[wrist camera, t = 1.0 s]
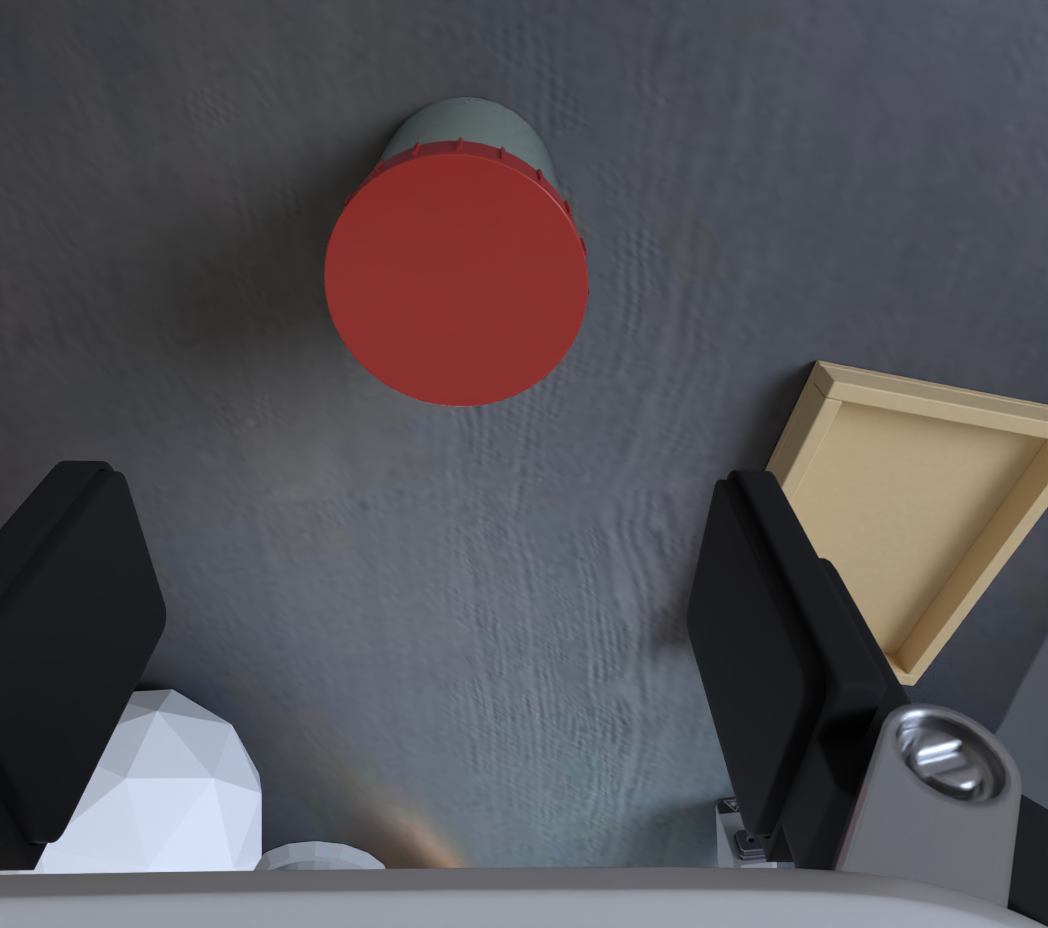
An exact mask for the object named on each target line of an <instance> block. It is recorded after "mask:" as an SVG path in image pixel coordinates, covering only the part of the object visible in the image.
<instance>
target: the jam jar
mask: <svg viewBox="0 0 1048 928" xmlns="http://www.w3.org/2000/svg"><path fill="white" fill-rule="evenodd" d="M459 137H461V138H463V141H469V142H476V143H482V144H486V145H489V146H492V147H496V148H499V149H501V147H505V151H506V152H508V153H510V154H512V155H515V156H516V157H518V158H520V159H521V160H523V161H524V162H526V163H528V164H529V165H531V166H532V167H533V168H534V169H535V170H538V169H540V170H542V173H543V176H544V177H545V178H546V179H547V180H548V182H549V183H550V184H551V185H552V186H553V187H554V188H555V189H556V191H557V192H558V194H559V195H560V196H561V198H562V194H561V191H560V187H559V184H558V180H557V177H556V173H555V169H554V166H553V163H552V160H551V158H550V155H549V153H548V151H547V149H546V147H545V145H544V143H543V142H542V140H541V139H540V137H539V136H538V134H537V133H536V132H535V131H534V130H533V128H532V127H531V126H530V125H529V124H528V123H527V122H526V121H525V120H523V119H522V118H521V117H520V116H519V115H517V114H516V113H514V112H513V111H511V110H509V109H508V108H506V107H504V106H501V105H499V104H497V103H494V102H491V101H488V100H484V99H478V98H470V97H458V98H451V99H445V100H442V101H438V102H435V103H433V104H430V105H428V106H426V107H424V108H422V109H421V110H419V111H417V112H416V113H414V114H413V115H412V116H411V117H409V118H408V119H407V120H406V121H405V122H404V123H403V124H402V125H401V126H400V127H399V128H398V130H397V131H396V132H395V134H394V135H393V137H392V138H391V140H390V141H389V143H388V145H387V147H386V148H385V150H384V152H383V154H382V155H381V157H380V159H379V161H380V160H381V161H382V162H385V161H386V160H388V159H390V158H391V157H393V156H394V155H396V154H398V153H400V152H403V151H405V150H407V149H410V148H412V147H414V146H415V143H417V142H420V145H423V144H426V143H431V142H439V141H446V140H447V141H458V138H459ZM379 161H378V162H379ZM378 162H377V163H378ZM376 165H377V164H376ZM373 170H374V169H373ZM562 199H563V198H562Z"/></svg>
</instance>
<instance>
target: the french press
mask: <svg viewBox="0 0 1048 928" xmlns="http://www.w3.org/2000/svg"><path fill="white" fill-rule="evenodd" d="M345 869H386V868H385V866H384V865H383V864H382V863H381V862H379V861H378V860H377V859H375V858H374V857H373V856H372V855H370V854H369V853H367V852H364V851H361V850H359V849H356V848H353V847H350V846H347V845H345V844H337V843H329V842H320V841H311V842H301V843H291V844H286V845H283V846H281V847H278V848H275V849H273V850H270V851H268V852H266V853H265V854H263V855H262V856H261V859H260V860H259V862H258V864H257V865H256V867H255V869H254V870H253V871H263V870H345Z"/></svg>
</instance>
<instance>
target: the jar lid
mask: <svg viewBox="0 0 1048 928" xmlns="http://www.w3.org/2000/svg"><path fill="white" fill-rule="evenodd" d="M343 205H345V207H344V209H343V211H342V212H341V214H340V216H339V218H338V220H337V222H336V224H335V226H334V228H333V230H332V232H331V233H330V235H329V237H328V239H327V243H328V246H327V250H326V257H325V264H324V286H325V294H326V300H327V304H328V308H329V311H330V315H331V318H332V320H333V322H334V325H335V327H336V329H337V332H338V333H339V335H340V337H341V338H342V340H343V342H344V344H345V345H346V347H347V348H348V349H349V351H350V352H351V353H352V355H353V356H354V357H355V358H356V360H357V361H358V362H359V363H360V364H361V365H362V366H363V367H364V368H365V369H366V370H367V371H368V372H370V373H371V374H372V375H373V376H375V377H376V378H377V379H378V380H380V381H381V382H383V383H384V384H386V385H387V386H389V387H391V388H392V389H394V390H396V391H398V392H400V393H402V394H404V395H406V396H409V397H412V398H415V399H417V400H420V401H424V402H428V403H432V404H437V405H445V406H477V405H485V404H489V403H493V402H498V401H501V400H504V399H507V398H509V397H512V396H515V395H517V394H519V393H521V392H522V391H524V390H526V389H528V388H530V387H531V386H533V385H534V384H536V383H537V382H539V381H540V380H541V379H543V378H544V377H545V376H546V375H547V374H548V373H549V372H551V371H552V370H553V369H554V368H555V367H556V365H557V364H558V363H559V362H560V361H561V360H562V359H563V357H564V356H565V354H566V353H567V351H568V350H569V349H570V347H571V346H572V344H573V342H574V340H575V338H576V336H577V334H578V332H579V329H580V326H581V323H582V321H583V318H584V314H585V309H586V304H587V295H588V294H589V288H588V274H587V265H586V260H585V255H587V251H586V248H585V244H584V241H583V238H579V234H578V231H577V228H576V226H575V223H574V220H573V217H572V213H571V209H570V206H569V203H568V201H567V200H566V201H565V202H564V201H563V199H562V198H561V196H560V195H559V194H558V192H557V191H556V189H555V188H554V187H553V186H552V185H551V184H550V183H549V182H548V180H547V179H546V178H545V177H544V176H543V173H542V170H540V169H538V170H535V169H534V168H533V167H532V166H531V165H529V164H528V163H526V162H524V161H523V160H521V159H520V158H518V157H516V156H515V155H512V154H510V153H508V152H506V151H505V147H501V149H499V148H496V147H492V146H489V145H486V144H482V143H476V142H469V141H463V138H461V137H459V138H458V141H447V140H446V141H439V142H431V143H426V144H423V145H420V142H417V143H415V146H414V147H412V148H410V149H407V150H405V151H403V152H400V153H398V154H396V155H394V156H393V157H391V158H390V159H388V160H386V161H385V162H382V161H381V160H380V161H379V162H378V163H377V165H376V166H375V168H374V170H373V171H372V172H371V173H370V174H369V175H368V176H367V177H366V178H365V179H364V180H363V181H362V182H361V184H360V185H359V186H358V187H357V189H356V190H355V192H354V191H353V190H351V191H350V193H349V194H348V196H347V198H346V199H345V201H344V203H343Z"/></svg>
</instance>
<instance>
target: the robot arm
mask: <svg viewBox="0 0 1048 928" xmlns="http://www.w3.org/2000/svg"><path fill="white" fill-rule="evenodd" d="M165 622H166V607H165V603H164V600H163V597H162V594H161V590H160V587H159V584H158V581H157V578H156V574H155V571H154V568H153V565H152V561H151V558H150V555H149V552H148V549H147V545H146V542H145V539H144V536H143V532H142V529H141V526H140V523H139V520H138V516H137V513H136V510H135V507H134V503H133V500H132V497H131V494H130V491H129V487H128V484H127V481H126V479H125V476H124V475H123V474H122V473H121V472H118V471H113V469H112V467H111V466H110V465H109V464H108V463H107V462H104V461H62V462H59V463H58V464H57V465H56V466H55V467H54V468H53V469H52V470H51V471H50V472H49V473H48V475H47V476H46V477H45V478H44V479H43V480H42V482H41V483H40V484H39V485H38V486H37V487H36V489H35V490H34V491H33V492H32V493H31V494H30V495H29V497H28V498H27V499H26V500H25V501H24V502H23V504H22V505H21V506H20V507H19V508H18V509H17V511H16V512H15V513H14V514H13V515H12V516H11V517H10V519H9V520H8V521H7V522H6V523H5V524H4V526H3V527H2V528H1V529H0V871H22V870H34V869H35V867H36V865H37V863H38V861H39V859H40V857H41V856H42V854H43V852H44V850H45V848H46V846H47V844H48V843H54V842H56V841H57V840H58V839H59V838H60V837H61V836H62V835H63V833H64V831H65V830H66V828H67V826H68V824H69V822H70V820H71V818H72V815H73V813H74V811H75V809H76V807H77V805H78V803H79V801H80V799H81V797H82V795H83V793H84V791H85V789H86V787H87V785H88V783H89V781H90V779H91V777H92V775H93V773H94V771H95V769H96V767H97V765H98V763H99V761H100V759H101V757H102V754H103V752H104V750H105V748H106V746H107V744H108V742H109V740H110V738H111V736H112V734H113V732H114V730H115V728H116V726H117V724H118V722H119V720H120V718H121V716H122V714H123V712H124V710H125V708H126V706H127V704H128V702H129V700H130V698H131V695H132V693H133V691H134V689H135V687H136V685H137V683H138V681H139V679H140V677H141V675H142V673H143V671H144V669H145V667H146V665H147V663H148V661H149V659H150V657H151V655H152V653H153V651H154V649H155V647H156V645H157V643H158V641H159V639H160V637H161V634H162V632H163V630H164V627H165ZM687 627H688V633H689V637H690V640H691V644H692V647H693V651H694V654H695V658H696V661H697V665H698V668H699V672H700V675H701V679H702V682H703V686H704V689H705V693H706V696H707V700H708V703H709V707H710V710H711V714H712V717H713V721H714V724H715V728H716V731H717V735H718V738H719V742H720V745H721V749H722V752H723V756H724V759H725V763H726V766H727V770H728V773H729V777H730V780H731V784H732V787H733V791H734V794H735V798H736V801H737V805H738V808H739V812H740V815H741V819H742V822H743V825H744V828H745V830H746V832H747V834H748V835H749V836H759V839H760V842H761V845H762V849H763V852H764V855H765V859H766V862H794V864H795V867H796V868H716V867H583V868H440V869H345V870H263V871H192V872H131V873H70V874H12V875H0V928H1048V810H1047V809H1046V808H1044V807H1042V806H1041V805H1039V804H1037V803H1036V802H1034V801H1032V800H1031V799H1029V798H1027V797H1025V796H1024V795H1022V794H1021V792H1022V787H1021V778H1020V771H1019V769H1018V767H1017V765H1016V763H1015V761H1014V759H1013V757H1012V755H1011V754H1010V752H1009V751H1008V750H1007V749H1006V748H1005V746H1004V745H1003V744H1002V743H1001V742H1000V740H999V739H998V738H997V737H996V736H995V735H993V734H992V733H991V732H990V731H988V730H987V729H986V728H985V727H983V726H982V725H981V724H980V723H978V722H976V721H975V720H973V719H971V718H969V717H967V716H966V715H964V714H962V713H960V712H958V711H955V710H952V709H949V708H946V707H943V706H940V705H934V704H926V703H914V704H911V702H910V700H909V699H908V697H907V695H906V693H905V691H904V690H903V688H902V686H901V684H900V682H899V681H898V679H897V677H896V675H895V673H894V672H893V670H892V668H891V666H890V664H889V663H888V661H887V659H886V657H885V655H884V654H883V652H882V650H881V648H880V647H879V645H878V643H877V641H876V639H875V638H874V636H873V634H872V632H871V630H870V629H869V627H868V625H867V623H866V621H865V620H864V618H863V616H862V614H861V612H860V611H859V609H858V607H857V605H856V603H855V602H854V600H853V598H852V596H851V595H850V593H849V591H848V589H847V587H846V586H845V584H844V582H843V580H842V578H841V577H840V575H839V573H838V571H837V569H836V568H835V567H834V565H833V564H832V563H831V561H829V560H827V559H825V558H819V557H818V555H817V553H816V551H815V549H814V548H813V546H812V544H811V542H810V540H809V538H808V537H807V535H806V533H805V531H804V529H803V527H802V525H801V524H800V522H799V520H798V518H797V516H796V514H795V512H794V511H793V509H792V507H791V505H790V503H789V501H788V499H787V498H786V496H785V494H784V492H783V490H782V488H781V486H780V485H779V483H778V481H777V479H776V477H775V475H774V474H773V473H772V472H770V471H747V470H733V471H731V472H730V474H729V475H728V478H727V480H718V481H717V482H716V484H715V488H714V492H713V496H712V501H711V505H710V510H709V514H708V519H707V523H706V528H705V532H704V537H703V542H702V546H701V551H700V555H699V560H698V564H697V569H696V573H695V578H694V582H693V587H692V591H691V596H690V600H689V605H688V610H687Z"/></svg>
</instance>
